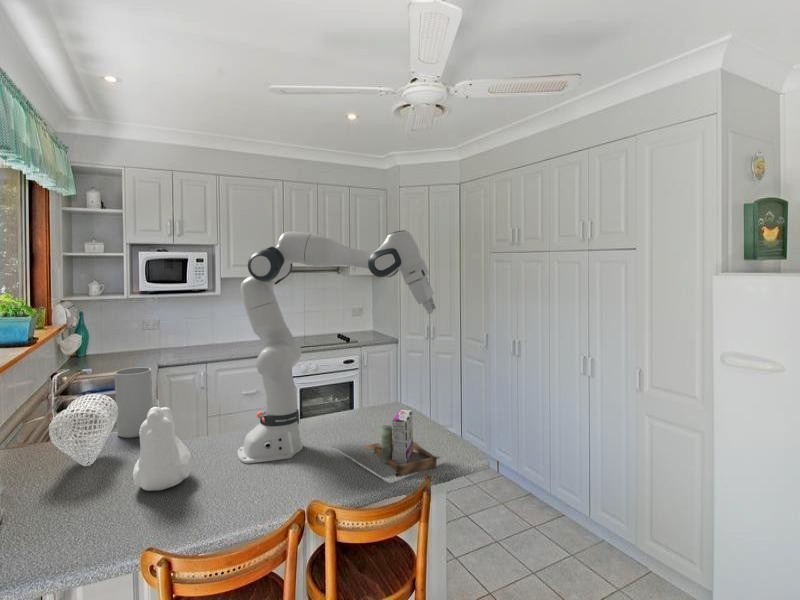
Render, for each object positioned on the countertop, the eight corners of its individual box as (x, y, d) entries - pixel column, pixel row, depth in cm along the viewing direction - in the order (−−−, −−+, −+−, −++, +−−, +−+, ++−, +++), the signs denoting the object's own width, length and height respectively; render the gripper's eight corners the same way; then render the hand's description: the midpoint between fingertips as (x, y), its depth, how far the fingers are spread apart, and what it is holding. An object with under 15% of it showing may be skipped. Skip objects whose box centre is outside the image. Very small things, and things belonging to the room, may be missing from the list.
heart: (74, 452, 163) (70, 391, 161) (124, 446, 168) (121, 387, 166) (44, 488, 136) (39, 416, 135) (104, 480, 142) (100, 410, 140)
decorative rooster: (179, 498, 131) (175, 413, 129) (121, 501, 129) (116, 415, 127) (207, 460, 155) (204, 389, 153) (159, 462, 154) (155, 390, 152)
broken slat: (368, 454, 160) (368, 449, 160) (364, 450, 164) (364, 445, 163) (406, 445, 167) (406, 441, 167) (401, 442, 171) (401, 438, 170)
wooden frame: (394, 477, 142) (393, 436, 141) (371, 456, 157) (370, 419, 156) (436, 466, 149) (436, 428, 148) (410, 447, 165) (410, 412, 164)
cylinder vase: (161, 428, 186) (158, 368, 184) (137, 439, 174) (133, 375, 172) (135, 426, 189) (132, 366, 187) (110, 437, 177) (106, 373, 175)
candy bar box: (399, 454, 159) (398, 408, 158) (413, 455, 158) (413, 409, 157) (392, 468, 148) (391, 419, 147) (407, 470, 147) (407, 420, 146)
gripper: (411, 276, 167) (427, 310, 167) (402, 280, 147) (420, 319, 147) (427, 269, 166) (443, 303, 166) (420, 272, 146) (438, 312, 146)
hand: (432, 311), depth 157 cm, fingers open, 8 cm apart
